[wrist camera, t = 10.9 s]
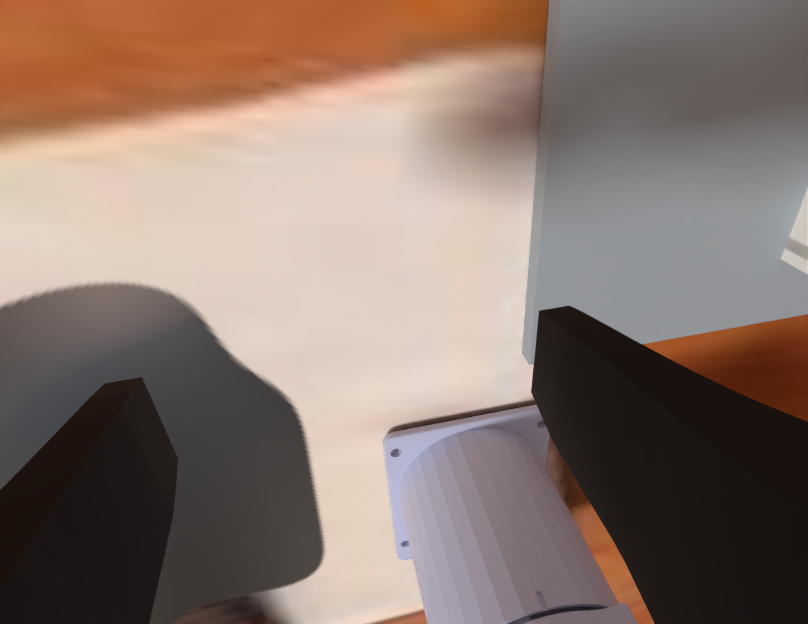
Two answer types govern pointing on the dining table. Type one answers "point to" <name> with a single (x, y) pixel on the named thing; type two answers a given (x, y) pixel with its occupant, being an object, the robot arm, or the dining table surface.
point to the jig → (672, 166)
